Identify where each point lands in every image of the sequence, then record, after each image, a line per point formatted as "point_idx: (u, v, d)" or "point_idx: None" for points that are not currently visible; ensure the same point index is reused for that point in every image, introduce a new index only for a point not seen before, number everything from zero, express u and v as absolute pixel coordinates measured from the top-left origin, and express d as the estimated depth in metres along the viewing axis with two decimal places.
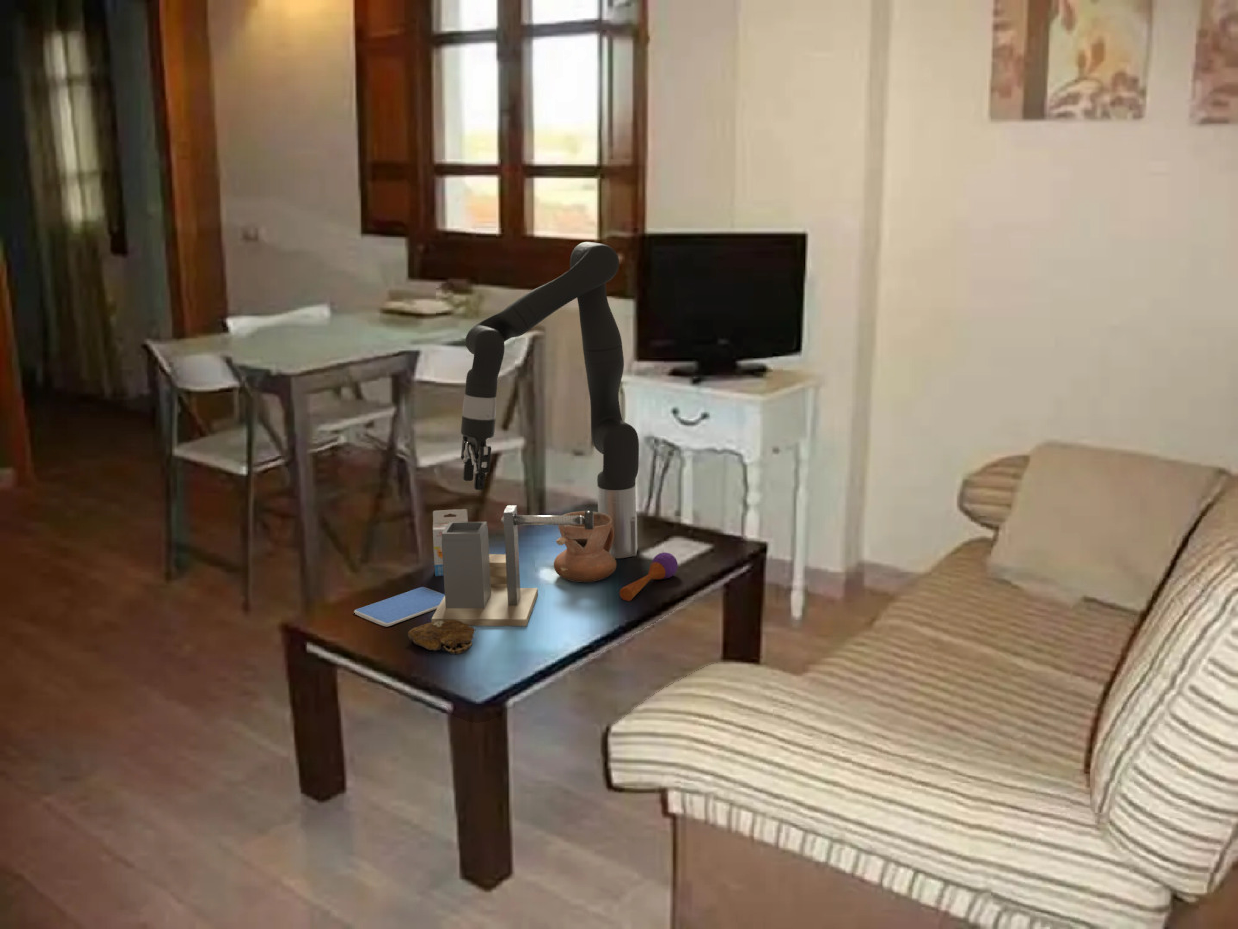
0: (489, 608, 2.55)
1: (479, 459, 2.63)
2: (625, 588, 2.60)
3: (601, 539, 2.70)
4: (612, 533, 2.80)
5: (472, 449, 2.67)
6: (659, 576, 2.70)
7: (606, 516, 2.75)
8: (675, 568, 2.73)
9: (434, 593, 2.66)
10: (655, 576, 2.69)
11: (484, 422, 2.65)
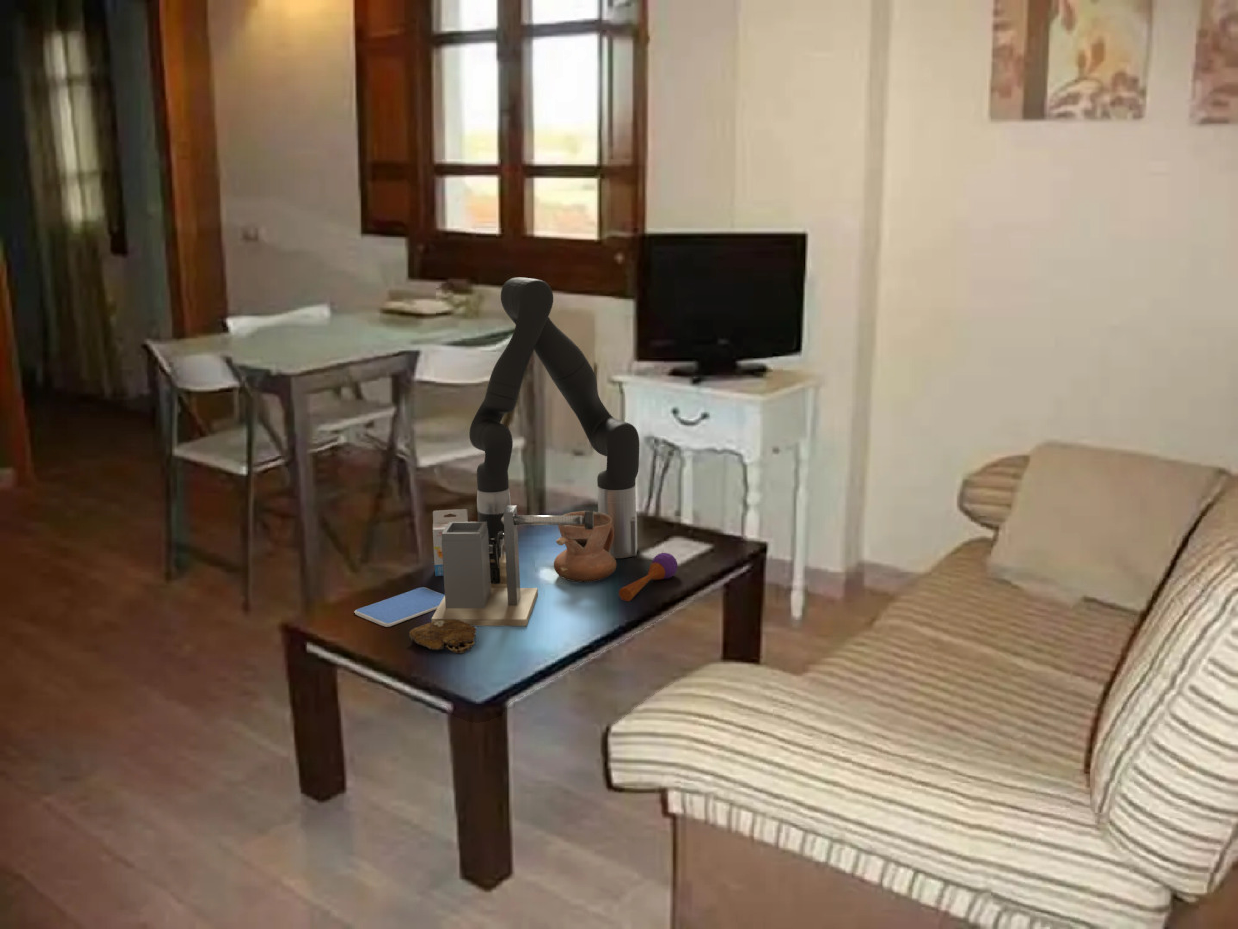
0: (489, 608, 2.55)
1: None
2: (624, 588, 2.60)
3: (601, 539, 2.70)
4: (612, 533, 2.80)
5: None
6: (659, 576, 2.70)
7: (606, 516, 2.75)
8: (675, 568, 2.72)
9: (434, 593, 2.66)
10: (655, 577, 2.69)
11: (492, 516, 2.64)
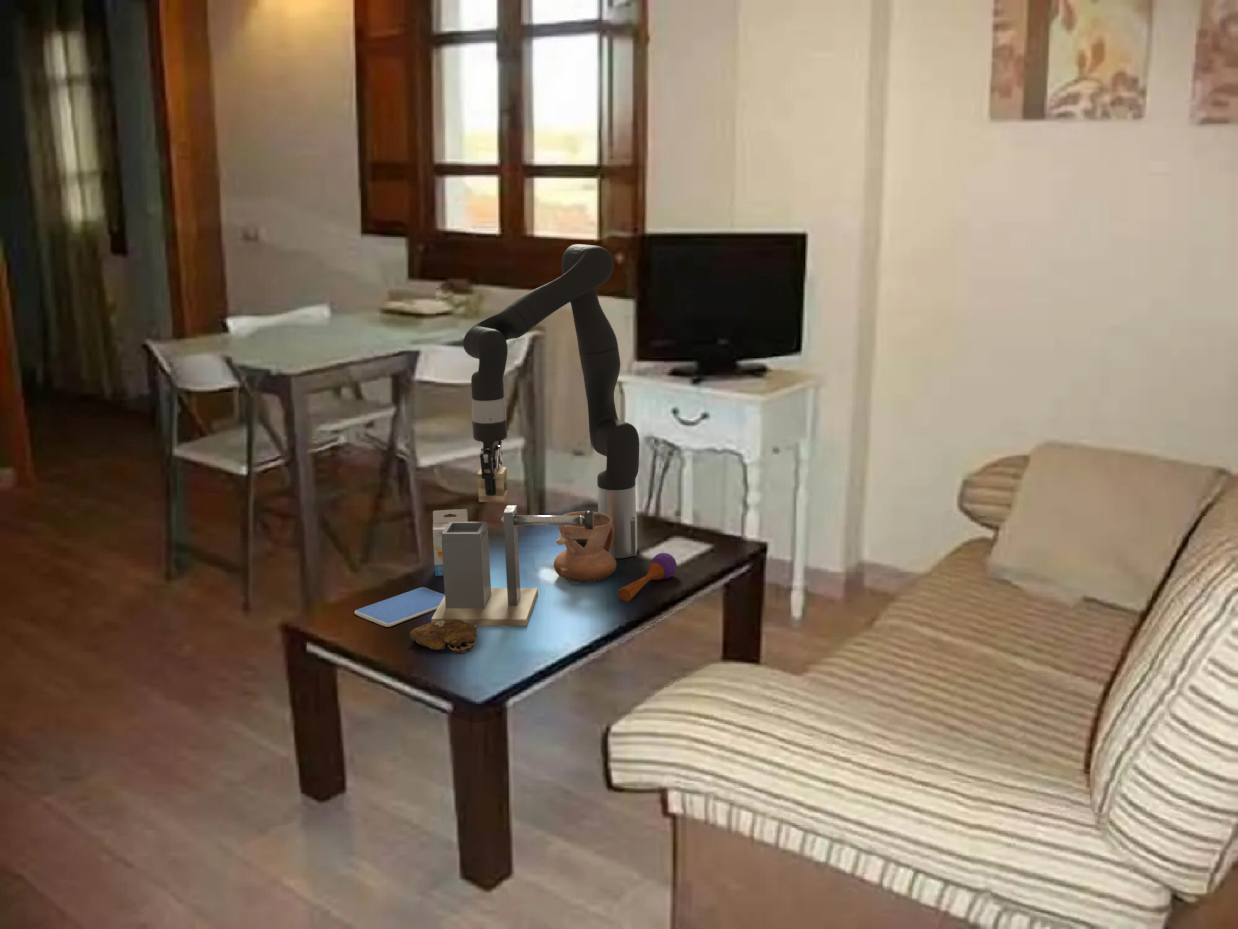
0: (489, 608, 2.55)
1: None
2: (624, 588, 2.60)
3: (601, 539, 2.70)
4: (612, 533, 2.80)
5: (482, 453, 2.62)
6: (658, 576, 2.70)
7: (606, 516, 2.75)
8: (674, 568, 2.72)
9: (434, 593, 2.66)
10: (654, 577, 2.69)
11: (487, 425, 2.59)
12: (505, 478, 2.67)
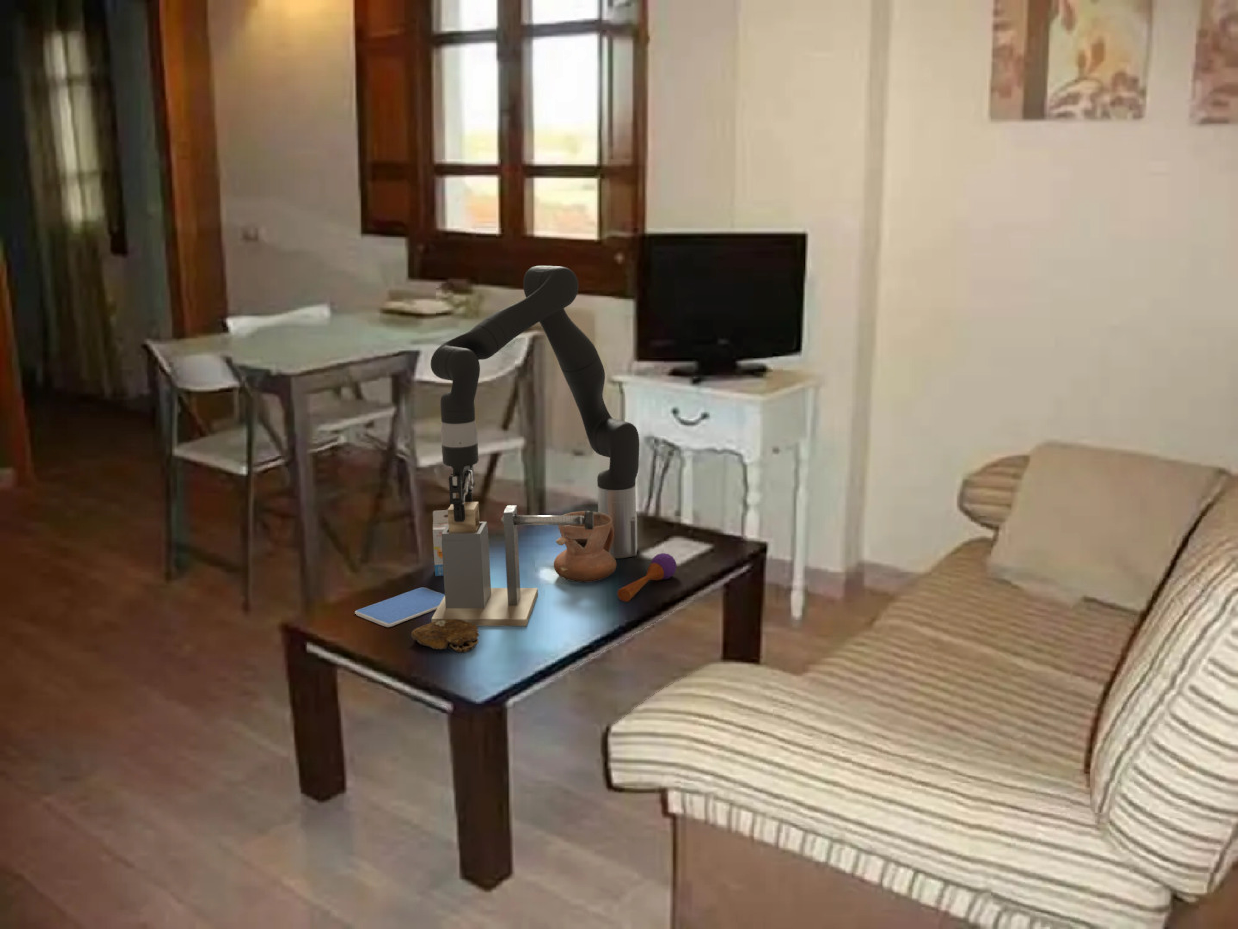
0: (489, 608, 2.55)
1: None
2: (623, 589, 2.60)
3: (601, 539, 2.70)
4: (612, 533, 2.80)
5: None
6: (657, 577, 2.70)
7: (606, 516, 2.75)
8: (674, 569, 2.72)
9: (434, 593, 2.66)
10: (653, 577, 2.69)
11: (457, 450, 2.46)
12: (477, 513, 2.55)
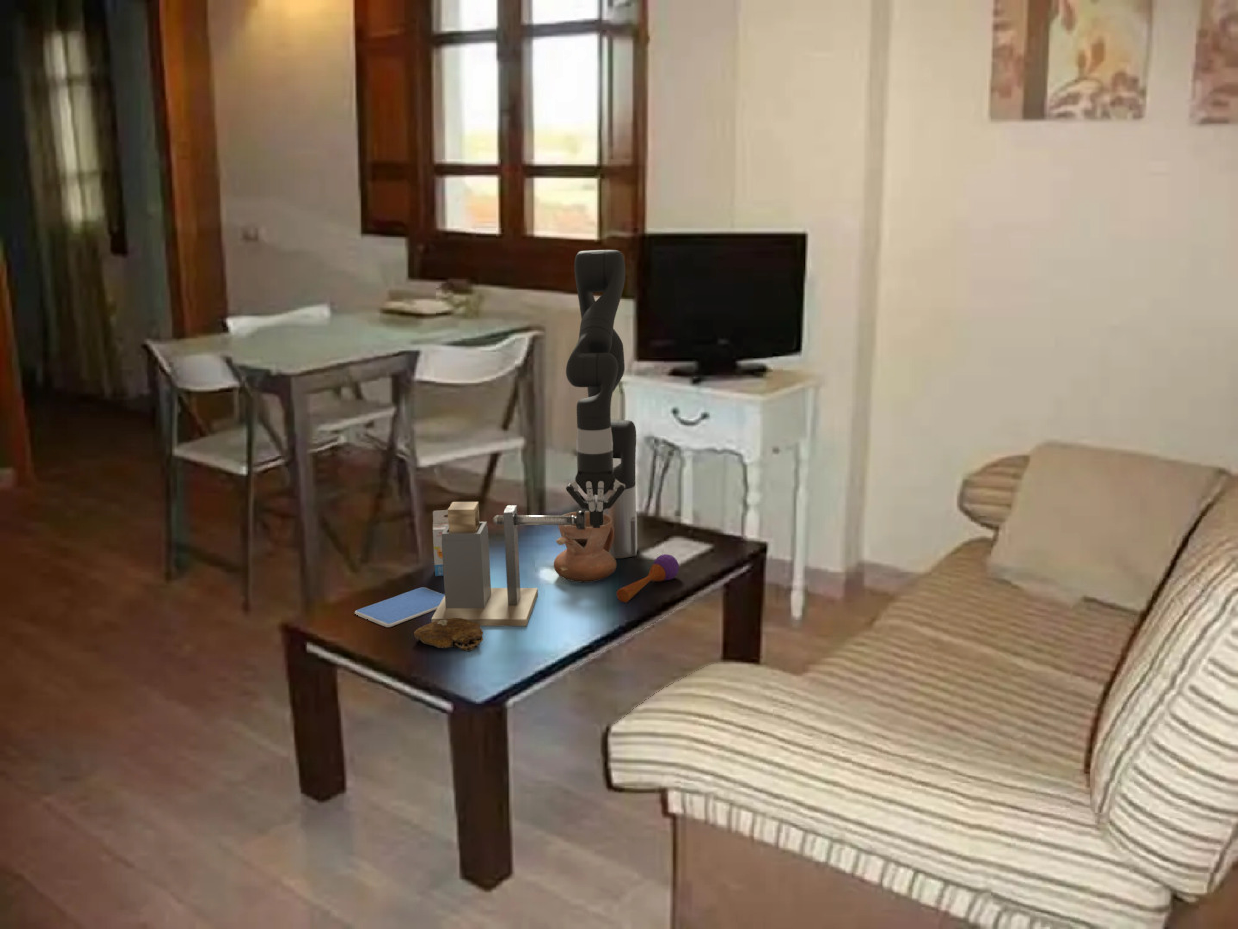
0: (489, 608, 2.55)
1: None
2: (622, 589, 2.60)
3: (601, 539, 2.70)
4: (612, 533, 2.80)
5: None
6: (659, 578, 2.69)
7: (606, 516, 2.75)
8: (676, 570, 2.71)
9: (434, 593, 2.66)
10: (655, 578, 2.68)
11: None
12: (477, 513, 2.55)
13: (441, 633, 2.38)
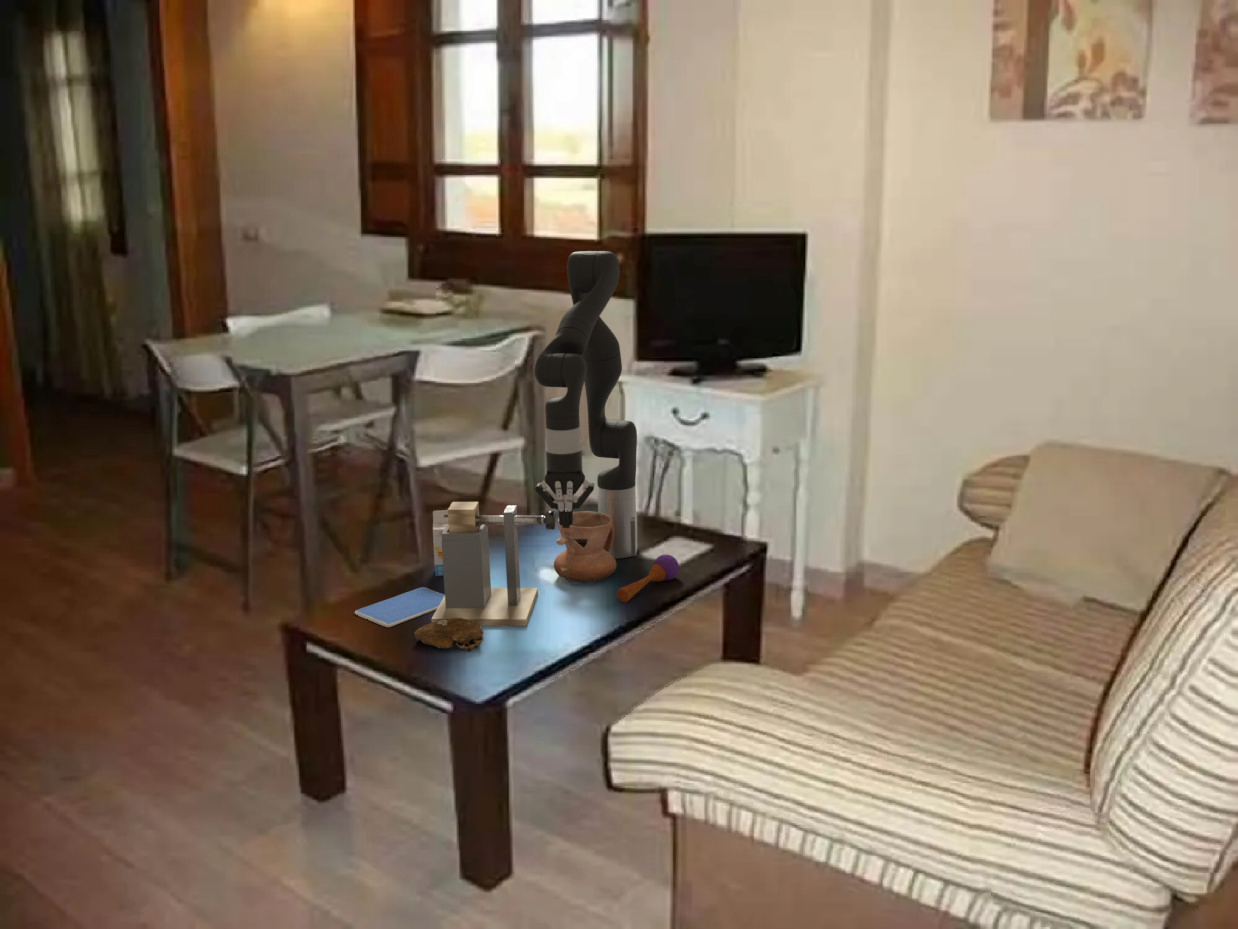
0: (489, 608, 2.55)
1: None
2: (622, 589, 2.60)
3: (601, 539, 2.70)
4: (612, 533, 2.80)
5: None
6: (659, 578, 2.69)
7: (606, 516, 2.75)
8: (676, 570, 2.71)
9: (434, 593, 2.66)
10: (654, 578, 2.68)
11: None
12: (477, 513, 2.55)
13: (441, 633, 2.38)
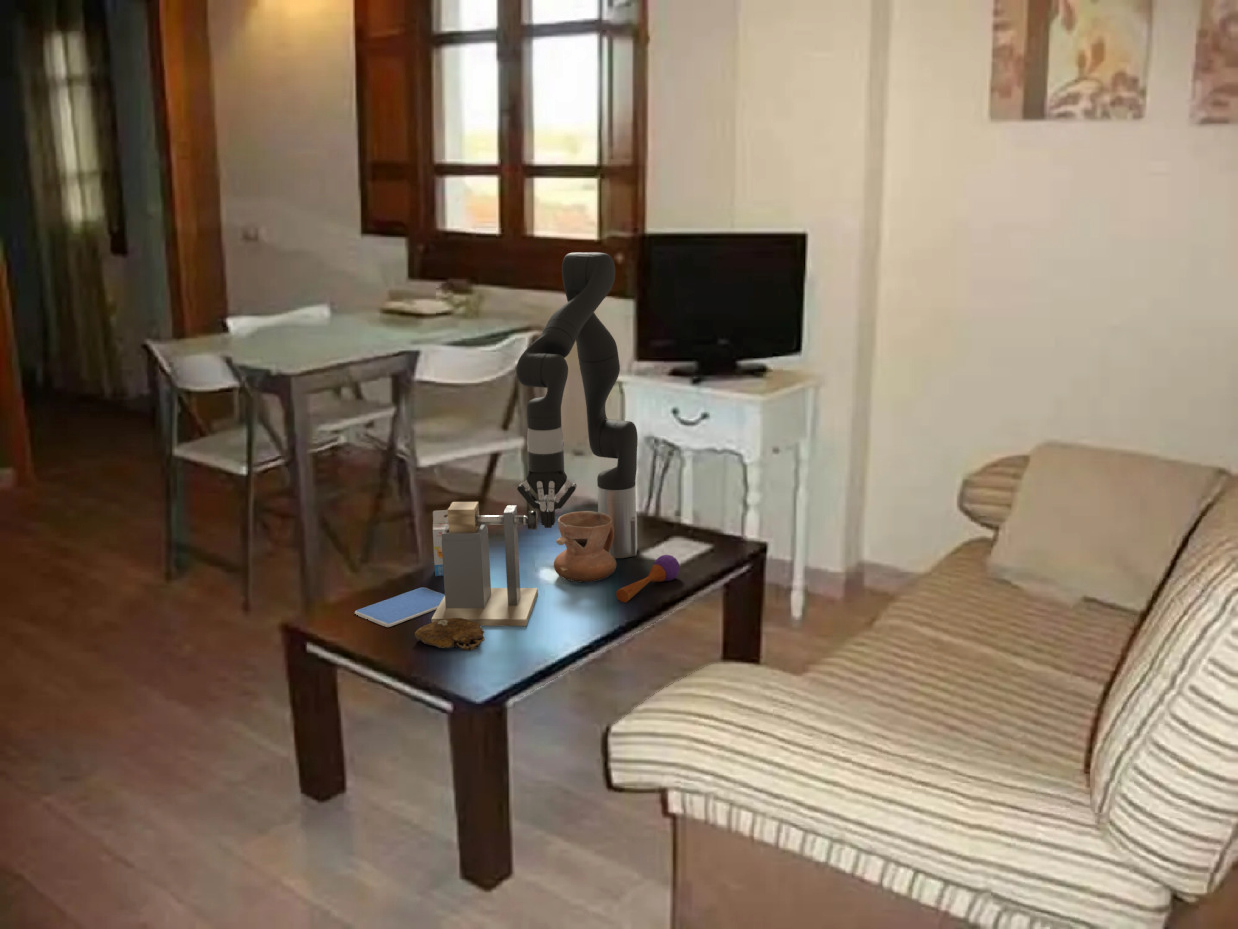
0: (489, 608, 2.55)
1: None
2: (621, 589, 2.60)
3: (601, 539, 2.70)
4: (612, 533, 2.80)
5: None
6: (659, 578, 2.69)
7: (606, 516, 2.75)
8: (676, 571, 2.71)
9: (434, 593, 2.66)
10: (655, 579, 2.68)
11: None
12: (477, 513, 2.55)
13: (442, 633, 2.38)
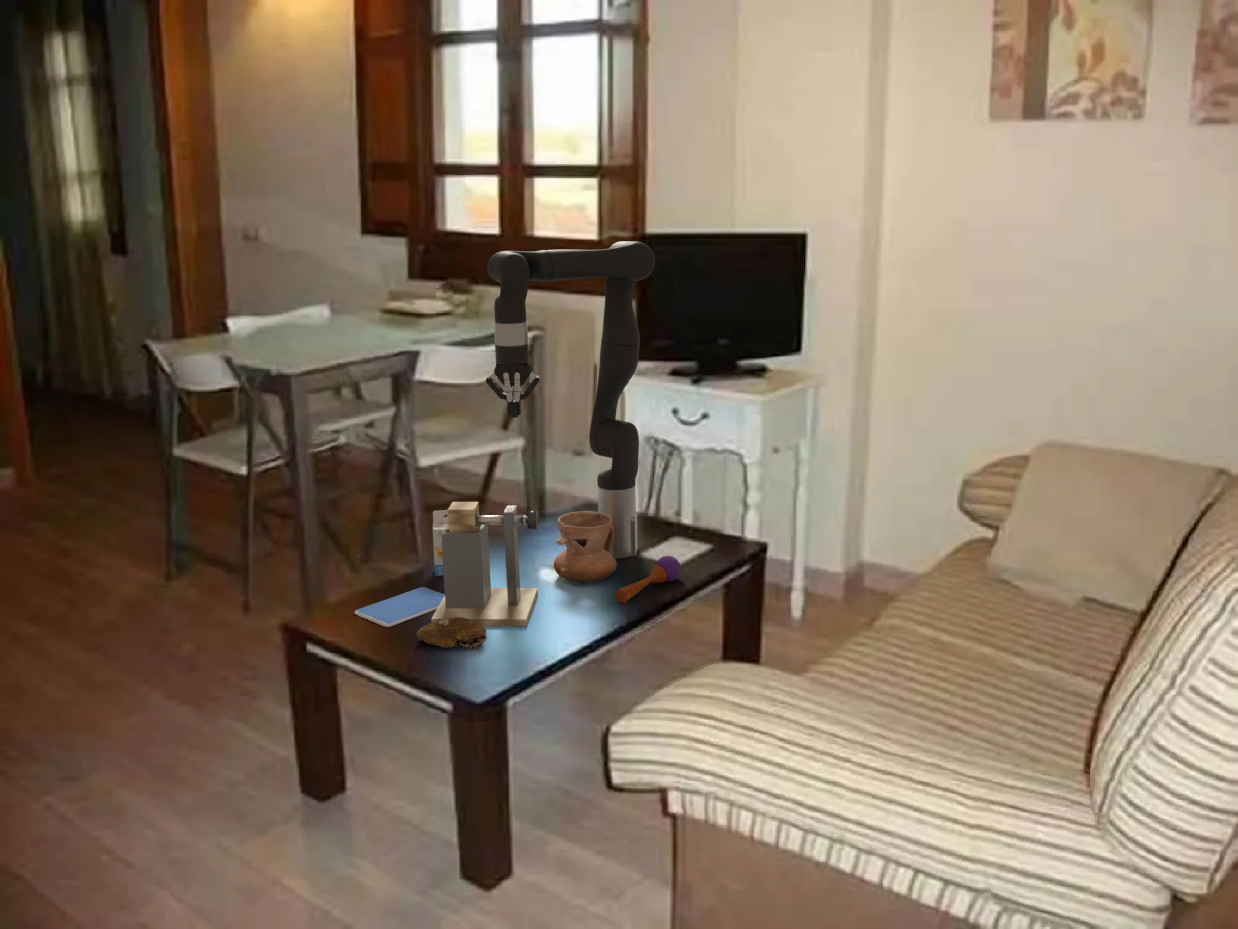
0: (489, 608, 2.55)
1: None
2: (620, 590, 2.59)
3: (601, 539, 2.70)
4: (612, 533, 2.80)
5: None
6: (660, 579, 2.68)
7: (606, 516, 2.75)
8: (678, 572, 2.70)
9: (434, 593, 2.66)
10: (655, 579, 2.67)
11: None
12: (477, 513, 2.55)
13: (444, 633, 2.39)
